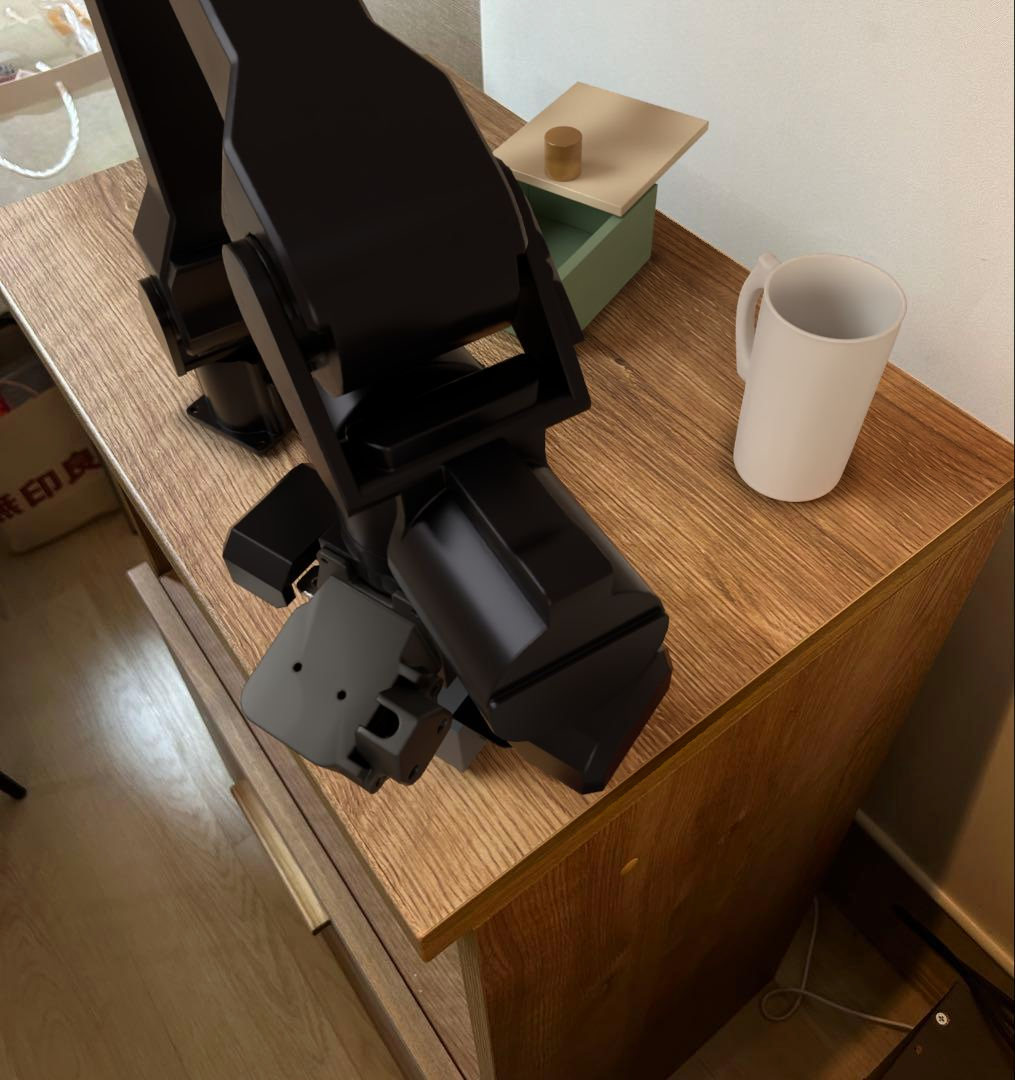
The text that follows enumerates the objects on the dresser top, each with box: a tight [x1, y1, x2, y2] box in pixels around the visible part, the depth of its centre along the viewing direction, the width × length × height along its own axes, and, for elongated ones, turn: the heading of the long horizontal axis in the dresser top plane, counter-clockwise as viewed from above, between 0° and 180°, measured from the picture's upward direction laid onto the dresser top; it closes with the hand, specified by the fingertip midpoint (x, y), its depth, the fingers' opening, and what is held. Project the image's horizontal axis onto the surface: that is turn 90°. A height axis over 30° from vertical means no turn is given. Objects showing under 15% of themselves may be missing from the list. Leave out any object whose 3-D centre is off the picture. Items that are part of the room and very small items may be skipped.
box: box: [502, 180, 659, 337], centre depth 66 cm, size 11×12×6 cm
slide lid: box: [492, 81, 710, 217], centre depth 66 cm, size 11×12×3 cm
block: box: [434, 677, 488, 773], centre depth 46 cm, size 4×4×4 cm
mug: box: [732, 252, 908, 503], centre depth 53 cm, size 10×7×12 cm, turn 25°
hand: (452, 709), depth 46 cm, fingers closed on block, 4 cm apart
